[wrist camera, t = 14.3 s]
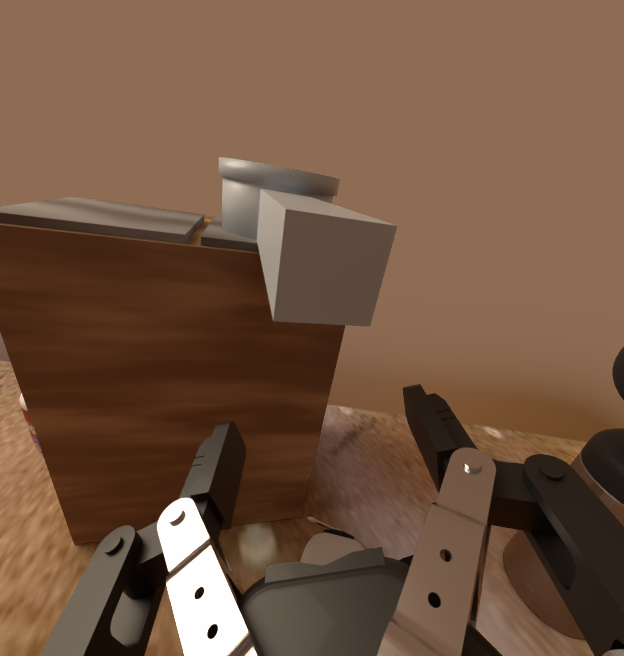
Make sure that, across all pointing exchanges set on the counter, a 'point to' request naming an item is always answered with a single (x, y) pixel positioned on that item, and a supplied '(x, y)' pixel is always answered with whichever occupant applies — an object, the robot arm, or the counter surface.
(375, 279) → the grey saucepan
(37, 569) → the counter surface
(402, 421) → the counter surface
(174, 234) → the wooden box
